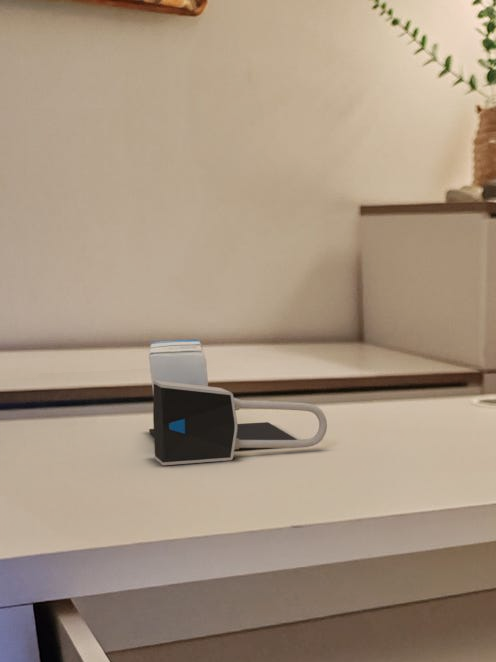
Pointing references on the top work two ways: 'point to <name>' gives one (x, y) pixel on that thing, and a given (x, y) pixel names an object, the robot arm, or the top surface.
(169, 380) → the ink box
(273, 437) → the mat
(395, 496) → the top surface
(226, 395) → the padlock
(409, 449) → the top surface
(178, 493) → the top surface
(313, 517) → the top surface
